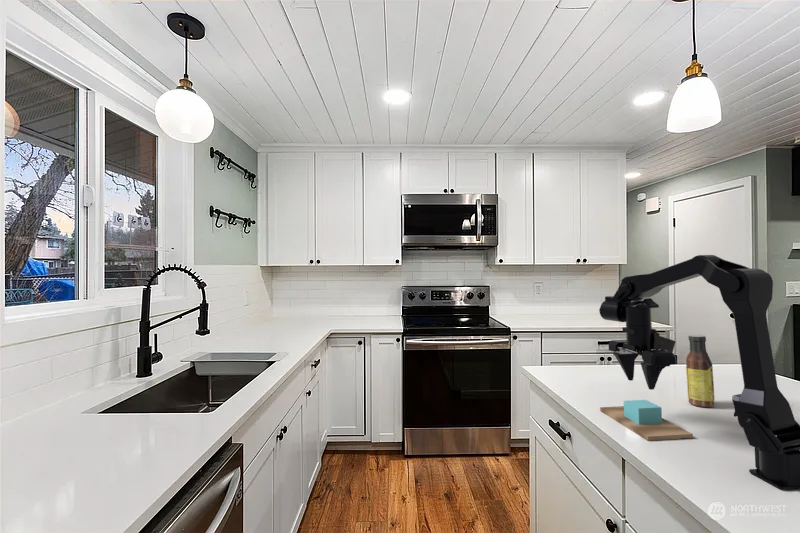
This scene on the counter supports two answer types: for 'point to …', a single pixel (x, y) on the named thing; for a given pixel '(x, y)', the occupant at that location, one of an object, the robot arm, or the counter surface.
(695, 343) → the sauce bottle
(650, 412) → the teal block
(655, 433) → the post base
